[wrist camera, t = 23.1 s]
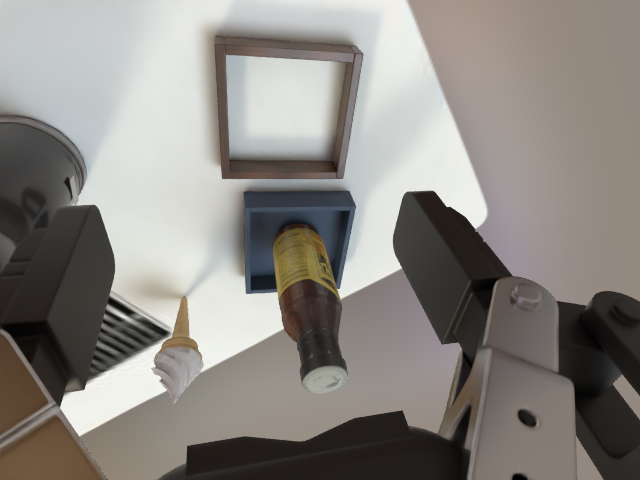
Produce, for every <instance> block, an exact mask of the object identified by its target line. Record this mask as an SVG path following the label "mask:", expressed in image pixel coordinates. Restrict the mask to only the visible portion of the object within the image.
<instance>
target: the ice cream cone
mask: <svg viewBox="0 0 640 480" xmlns="http://www.w3.org/2000/svg"><path fill="white" fill-rule="evenodd" d="M154 364H155V366H156V367H155V368H151V369H152V370H153V372H154V374H155V375H159V376H160V377H161V380H159V381H160V382H161V384H162V385H163V386H164V388H166V389H167V391H168V393H169V395H170V397H171V399H172V401H173V403H175V402H176V400H177V399H178V397H179V396H180V394H181V393H182V392H183V391H184V390H185V388H187V386H188V385H189V384H190V383H191V382H192V381H193V380H194V379H195V378H196V376H197V375H198V374H199V373H200V371H201V370H202V368H203V366H204V365H203V361H202V355H201V353H200V352H199V351H198V345H197V343H196V342H195V341H194V340H193V339H191V338H190V337H189V321H188V308H187V299H186V298H185V297H184V298H182V300H181V303H180V308H179V311H178V315H177V319H176V323H175V327H174V332H173V336H172V338H170V339H168V340H166V341H165V342H164V343H163V345H162V348H161V350H160V351H159V352H158V353H157V354H156V356H155V358H154Z"/></svg>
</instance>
